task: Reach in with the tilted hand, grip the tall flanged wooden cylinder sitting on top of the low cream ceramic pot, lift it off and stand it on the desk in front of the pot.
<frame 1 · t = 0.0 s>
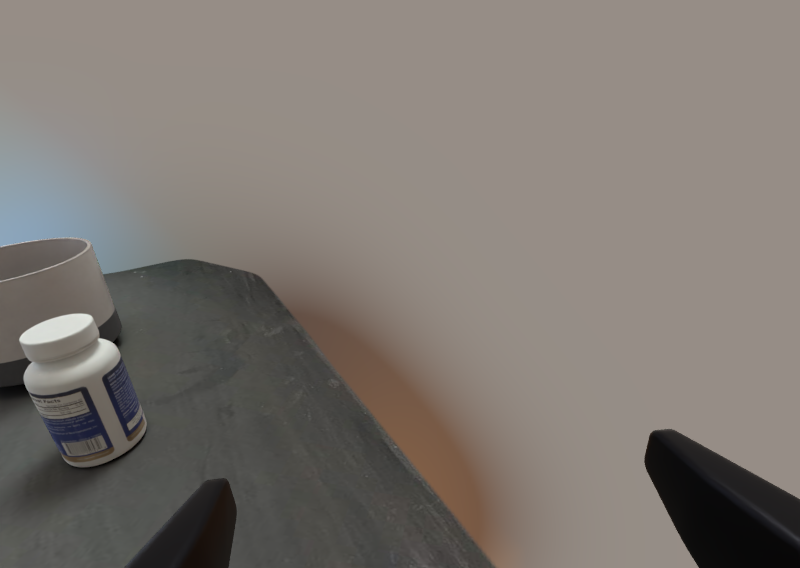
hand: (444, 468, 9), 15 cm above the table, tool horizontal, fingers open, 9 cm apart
pill bottle: (108, 443, 32), on the table
planter: (53, 359, 44), on the table
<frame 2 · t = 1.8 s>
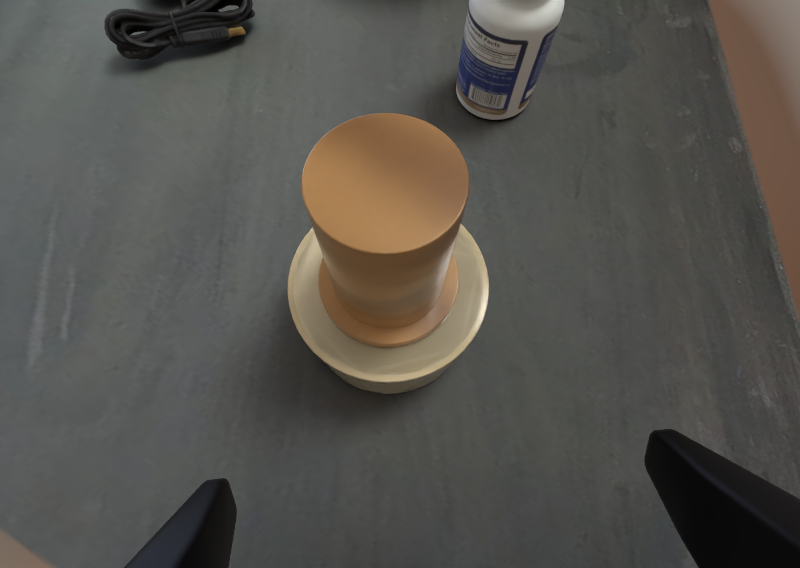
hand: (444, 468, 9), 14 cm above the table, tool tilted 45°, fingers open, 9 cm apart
pill bottle: (491, 95, 31), on the table
flanged wooden cylinder: (388, 280, 20), point 5 cm above the table, touching cream ceramic pot
cream ceramic pot: (389, 313, 25), on the table
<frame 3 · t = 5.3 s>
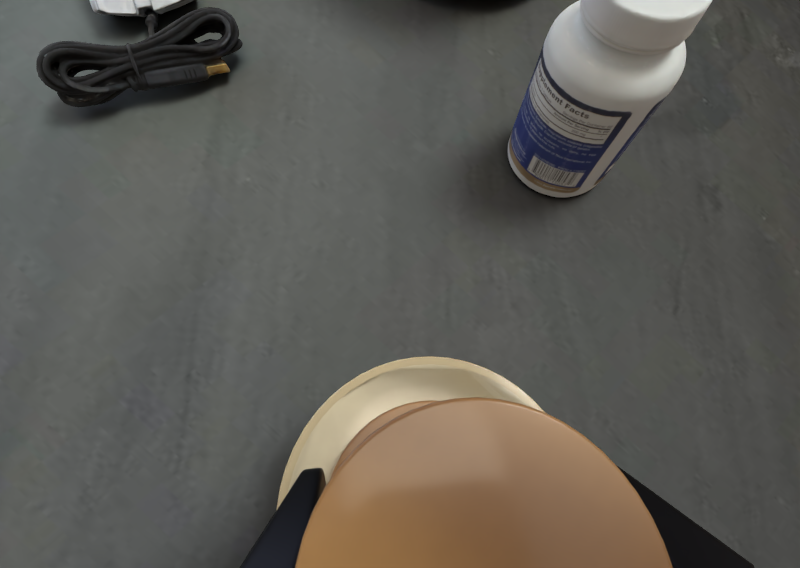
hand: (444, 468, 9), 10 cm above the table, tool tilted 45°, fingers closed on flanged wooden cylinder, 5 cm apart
pill bottle: (553, 160, 24), on the table
flanged wooden cylinder: (433, 512, 13), point 5 cm above the table, touching gripper, cream ceramic pot
cream ceramic pot: (422, 495, 18), on the table
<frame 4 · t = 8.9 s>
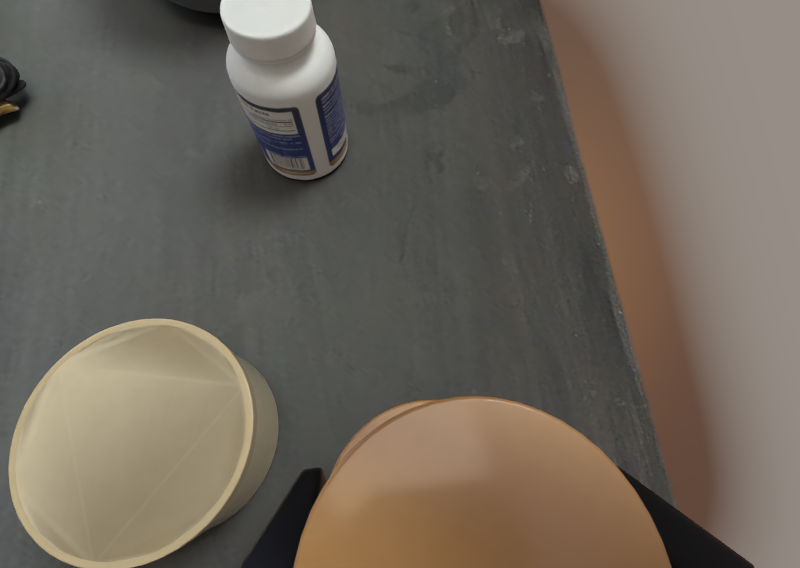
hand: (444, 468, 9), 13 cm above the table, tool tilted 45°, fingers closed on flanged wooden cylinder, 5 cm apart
pill bottle: (307, 149, 28), on the table
flanged wooden cylinder: (432, 511, 13), point 9 cm above the table, touching gripper
cream ceramic pot: (188, 435, 22), on the table
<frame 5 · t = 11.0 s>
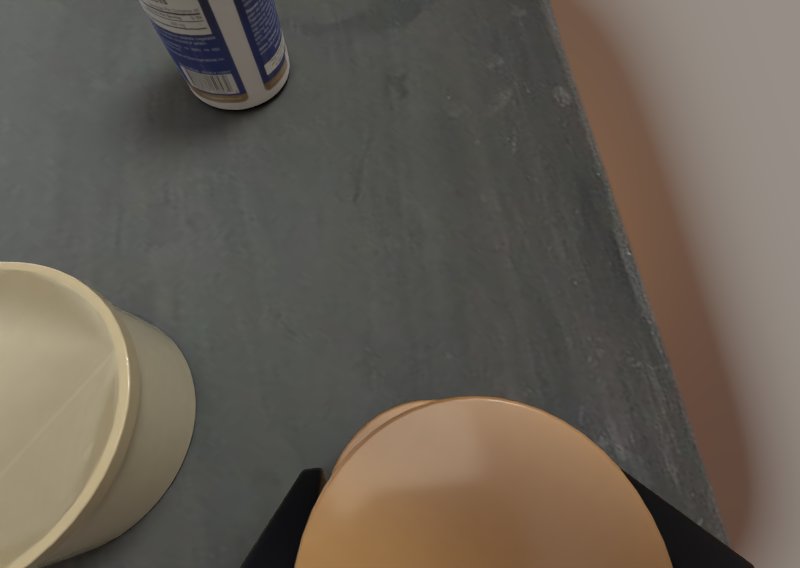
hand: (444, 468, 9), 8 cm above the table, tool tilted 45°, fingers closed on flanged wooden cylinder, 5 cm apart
pill bottle: (241, 76, 23), on the table
flanged wooden cylinder: (433, 511, 13), point 3 cm above the table, touching gripper
cream ceramic pot: (77, 424, 17), on the table
when the fingers open (5 cm above the table, at t = 12.5 s): flanged wooden cylinder stays where it is, on the table.
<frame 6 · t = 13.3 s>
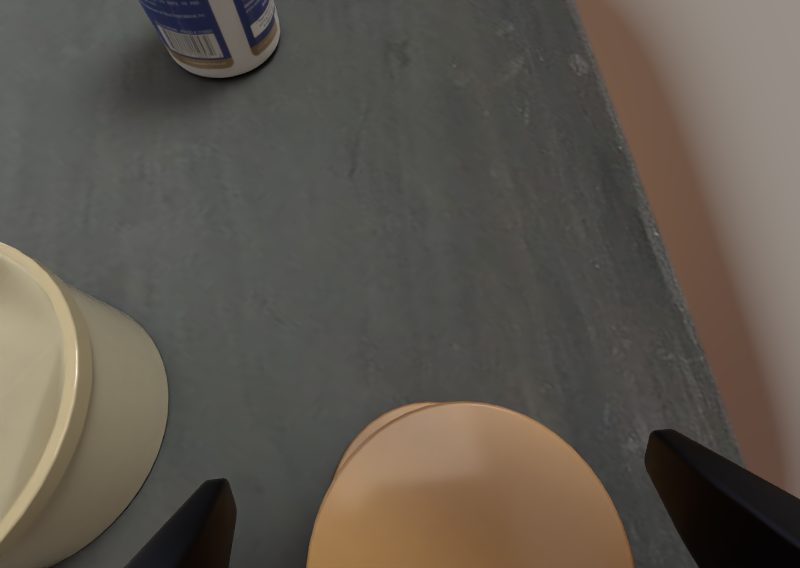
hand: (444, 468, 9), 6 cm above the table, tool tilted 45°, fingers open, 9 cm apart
pill bottle: (227, 43, 21), on the table
flanged wooden cylinder: (430, 506, 14), on the table
cream ceramic pot: (33, 423, 15), on the table
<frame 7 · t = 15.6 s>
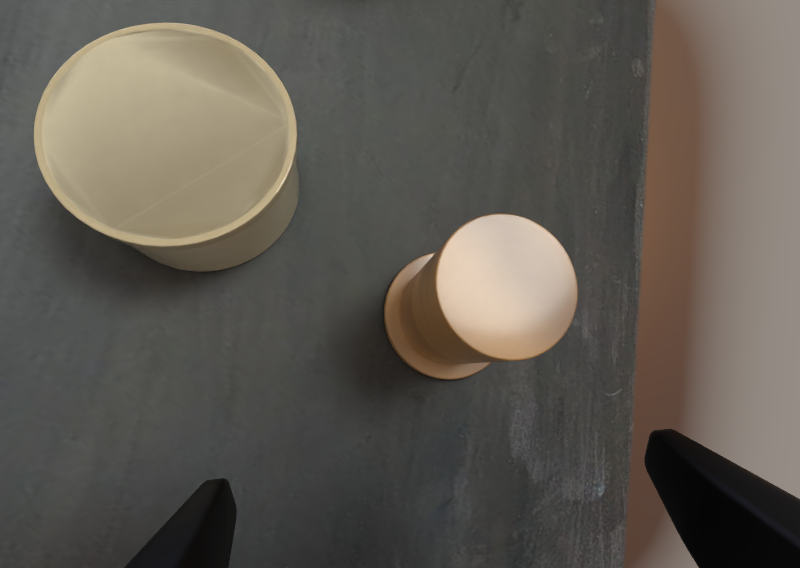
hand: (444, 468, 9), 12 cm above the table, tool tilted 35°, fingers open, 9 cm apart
flanged wooden cylinder: (445, 314, 22), on the table
cream ceramic pot: (206, 183, 22), on the table
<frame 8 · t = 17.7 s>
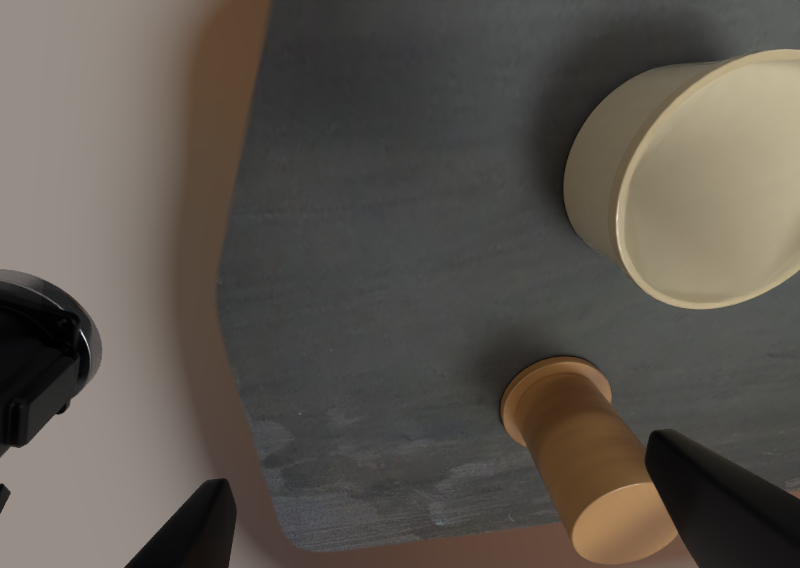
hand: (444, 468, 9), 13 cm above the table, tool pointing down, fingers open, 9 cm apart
flanged wooden cylinder: (553, 401, 26), on the table
cream ceramic pot: (656, 171, 20), on the table
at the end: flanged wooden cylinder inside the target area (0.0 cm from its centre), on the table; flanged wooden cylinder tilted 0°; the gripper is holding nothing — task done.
